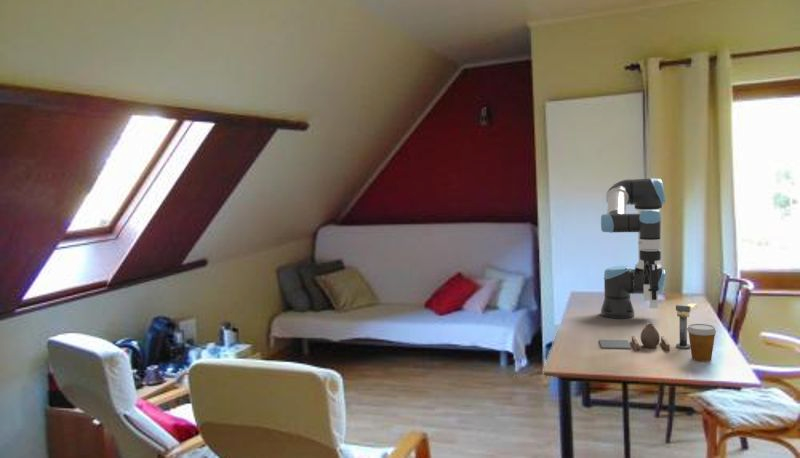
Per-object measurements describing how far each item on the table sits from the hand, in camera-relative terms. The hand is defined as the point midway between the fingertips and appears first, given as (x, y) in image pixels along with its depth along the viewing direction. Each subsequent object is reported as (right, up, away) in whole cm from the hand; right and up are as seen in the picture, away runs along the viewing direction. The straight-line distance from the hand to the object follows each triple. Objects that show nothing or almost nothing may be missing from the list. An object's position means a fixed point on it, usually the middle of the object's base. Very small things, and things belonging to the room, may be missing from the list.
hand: (650, 304), depth 237 cm
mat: (-12, -17, +5) cm, 21 cm away
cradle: (0, -17, +2) cm, 17 cm away
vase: (0, -17, +2) cm, 17 cm away
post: (+12, -17, -1) cm, 21 cm away
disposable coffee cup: (+12, -18, -16) cm, 27 cm away
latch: (+16, -4, +3) cm, 17 cm away
